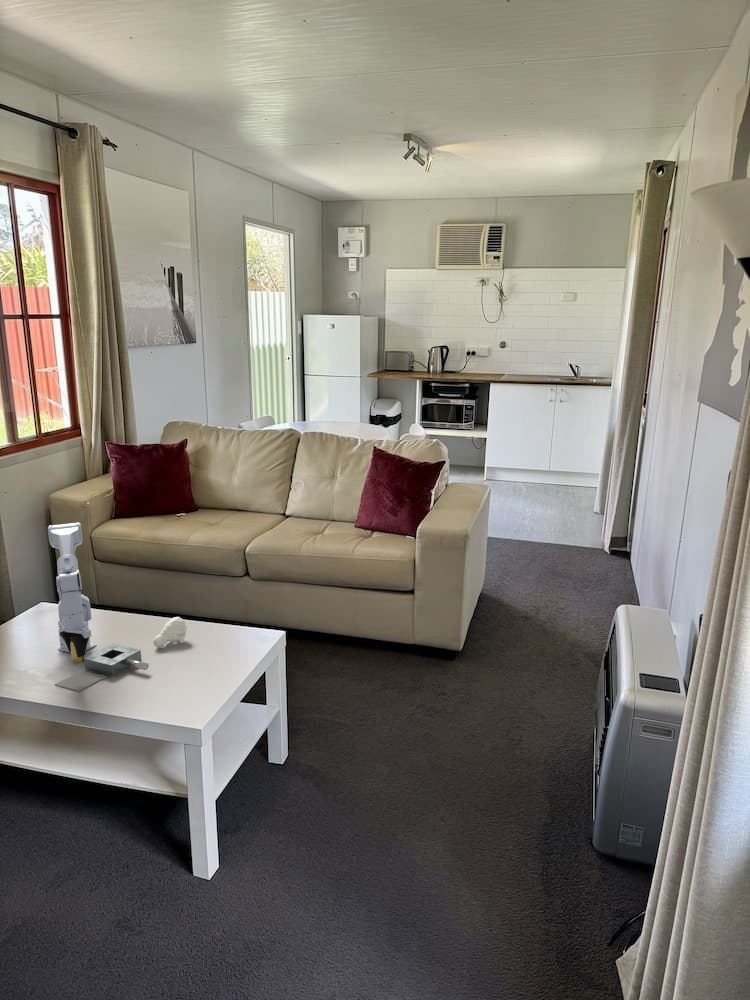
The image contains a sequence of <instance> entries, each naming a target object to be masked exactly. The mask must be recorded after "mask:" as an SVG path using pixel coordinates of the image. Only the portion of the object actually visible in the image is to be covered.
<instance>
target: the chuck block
mask: <svg viewBox="0 0 750 1000" xmlns="http://www.w3.org/2000/svg"><path fill="white" fill-rule="evenodd" d="M83 665H84V666H83V667H84V671H87V672H91V673H95V674H98V675H102V676H107V677H110V678H115V677H116V676H119V674H122V673H124V672H125V671H127V670H129V669H131V668H135V669H141V670H144V671H146V670H148V669H149V663H147V662H142V652H141V649H139V648H133V647H130V646H129V647H128V646H125V645H120V644H117V643H116V644H115V643H112V644H109V645H108V646H106V647H104V648H102V649H100V650H97V651H96V652H93V653H92V654H90V655H88V656H85V662H84V663H83Z"/></svg>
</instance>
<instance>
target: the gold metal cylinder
mask: <svg viewBox="0 0 750 1000" xmlns="http://www.w3.org/2000/svg"><path fill="white" fill-rule="evenodd" d="M70 646H71V654H70V655H71V656H70V658H71V664H72V665H81V664H84V662H85V657H86V655H84V656H82V657H78V656H77V654H76V650H75V646H74V644H73V642H72V640H70Z"/></svg>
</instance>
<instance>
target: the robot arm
mask: <svg viewBox="0 0 750 1000" xmlns="http://www.w3.org/2000/svg"><path fill="white" fill-rule="evenodd" d="M82 531H83V530H82V524H81V523H80V522H79V521H77V522H72V523H63V524H52V525H51V524H50V525H48V526H47V534H48V535H47V536H48V542H49V544H50V546H51V547H52V548H54V549H57V550H59V554H60V557H58V558H57V561H56V564H57V565H56V566H57V576H56V577H55V578H56V579H55V581H56V588H57V589H56V591H57V593H58V596H59V597H58V598H59V601H58V606H57V607H58V611H57V612H58V619H59V620H58V621H57V625H58V636H59V637H58V638H59V645H60V647H58V650H59V651H63V652H66V653H69V654H70V655H71V646H70V640H72V642H73V644H74V646H75V650H76V654H77V656H78V657H82V656H86V652H87V651H88V650H90V649H92V648H95V647H96V646H97V643H94V642H91V639H90V638H91V637H92V636H93V635H92V630H91V629H90V628H89V622H90V621H92V610H91V603H90V599H89V597H88V596H85V594H82V588H83V585H82V577H81V576H82V575H81V573H80V570H79V561H78V558H77V556H76V550H77V547H78V546H80V545H82V544H83V539H84V538H83V532H82Z"/></svg>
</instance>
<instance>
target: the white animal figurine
mask: <svg viewBox="0 0 750 1000" xmlns="http://www.w3.org/2000/svg"><path fill="white" fill-rule="evenodd" d="M187 628H188V627H187V625H186V621H185V620H184V619H183V618H181V617H180V616H176V617H175V616H174V617H172V618H170V619H169V620H168V621H167V622H166V623H165V624H164V626H163V628H162V629H161V631H160V633H159V634H157V635H156V636H155V637H154V638H153V640H152V643H153V645H154V647H156V649H158V650H160V649H163V648H166V647H165V646H166V645H165V644H167V643H168V642H169V643H170V642H173V641H174V642H175V641H176V642H177V641H179V643H180V644H184V640H185V639H186V633H187Z"/></svg>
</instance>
